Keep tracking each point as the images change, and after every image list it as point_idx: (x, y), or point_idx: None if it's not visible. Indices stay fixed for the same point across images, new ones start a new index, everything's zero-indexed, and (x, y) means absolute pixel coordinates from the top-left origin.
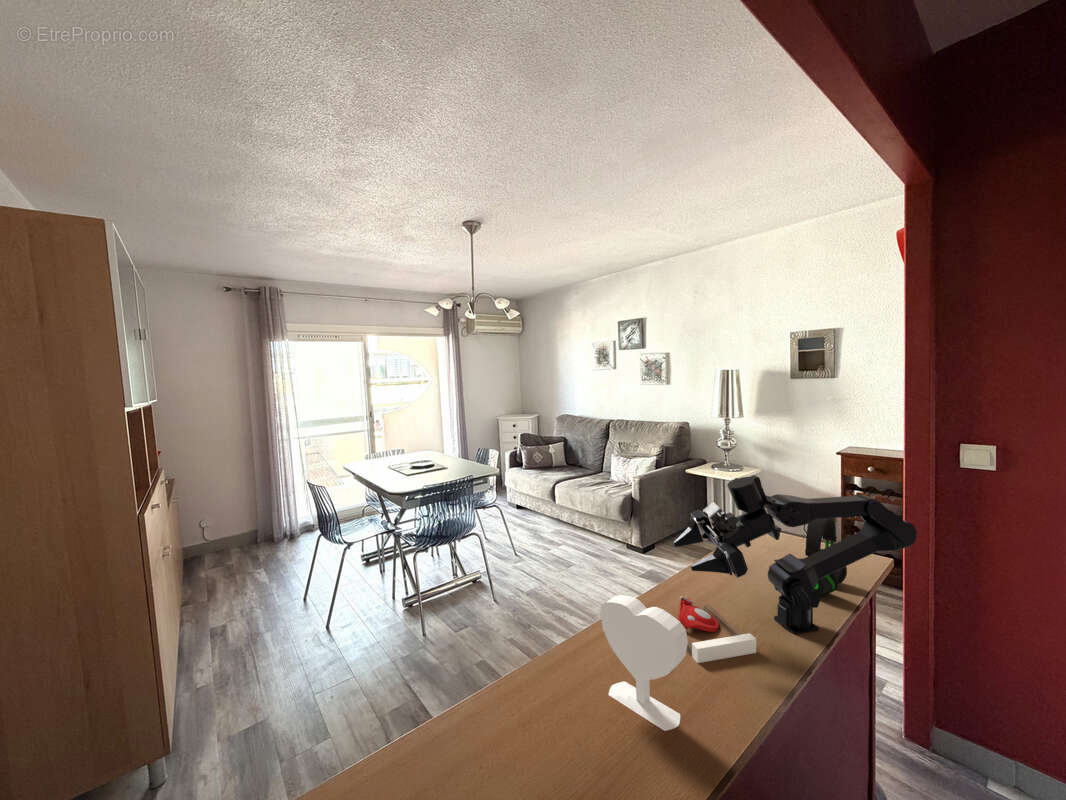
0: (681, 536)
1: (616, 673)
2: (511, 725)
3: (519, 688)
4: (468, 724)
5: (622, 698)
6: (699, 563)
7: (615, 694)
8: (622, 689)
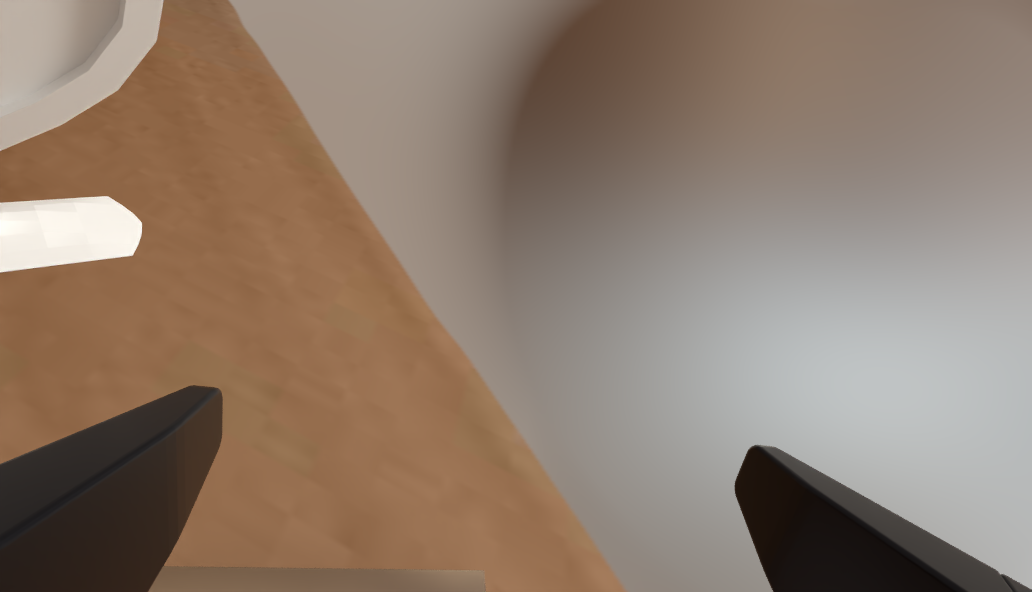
0: (887, 523)
1: (188, 257)
2: (161, 52)
3: (267, 103)
4: (213, 29)
5: (50, 203)
6: (81, 435)
7: (86, 201)
8: (90, 223)
